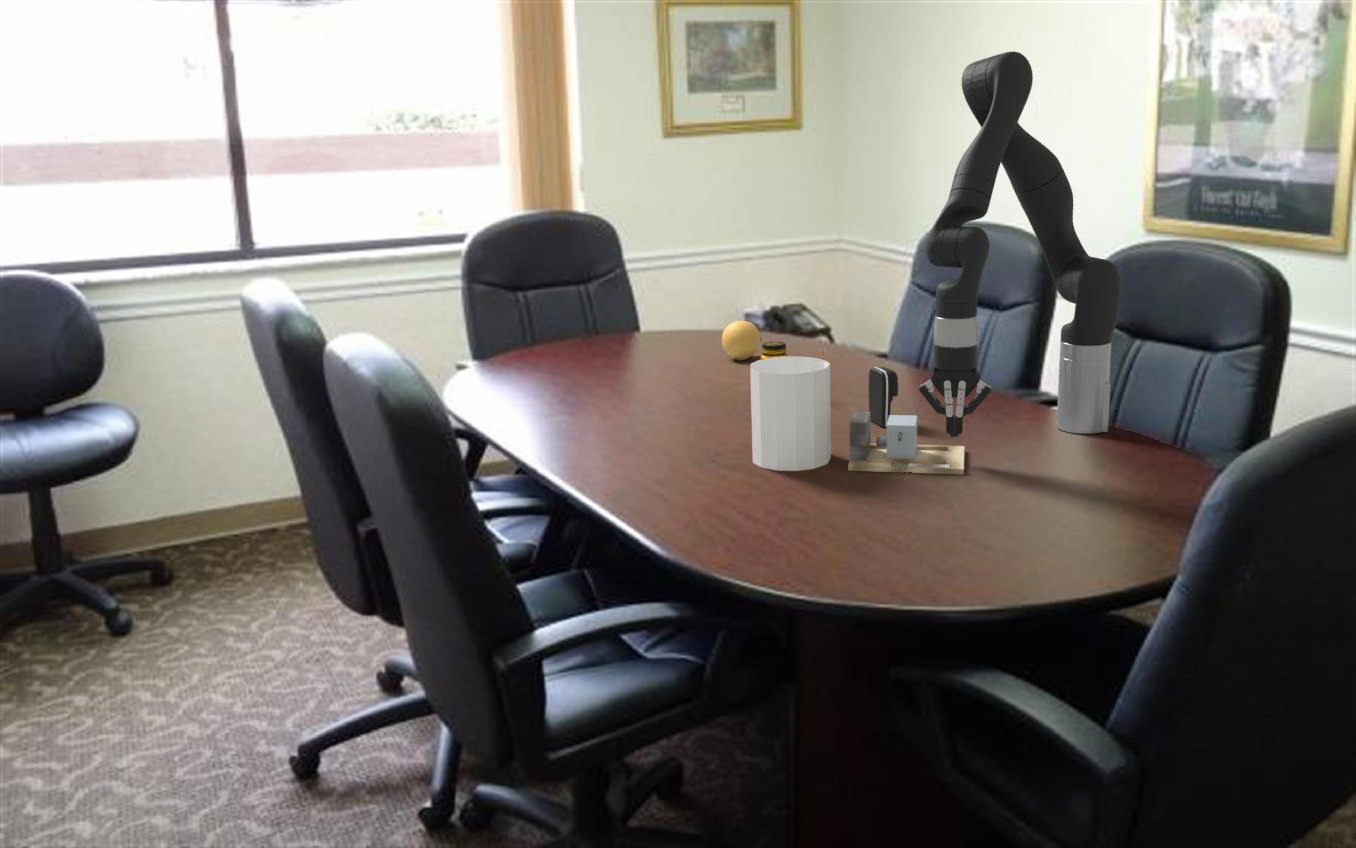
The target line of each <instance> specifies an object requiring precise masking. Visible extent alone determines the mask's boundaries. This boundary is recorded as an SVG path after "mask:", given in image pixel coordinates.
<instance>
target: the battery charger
mask: <svg viewBox="0 0 1356 848" xmlns="http://www.w3.org/2000/svg"><path fill="white" fill-rule="evenodd" d="M898 377H899V376H898V374H897V372H896V371H894V370H893V369H891V368H889V367H887V366H877V367H876V366H875V367H871V368H870V369H869V372H868V412H870V422H873V423H874V424H876V425H878V426H880V427H882V428H887V422H888V418H889V415H892V414H891V404H892V401H893V400H894V397H898V396H899V378H898Z"/></svg>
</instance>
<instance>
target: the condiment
mask: <svg viewBox="0 0 1356 848" xmlns="http://www.w3.org/2000/svg"><path fill="white" fill-rule="evenodd" d="M761 348H762V351H761V352H762V353H761V354H762V355H760V356H761V357H760V360H762V359H767V358H773V357H789V356H788V354H787V344H786V343H785V342H783V341H776V340H774V341H767V342H763V343H762V346H761Z"/></svg>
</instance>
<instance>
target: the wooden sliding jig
mask: <svg viewBox="0 0 1356 848" xmlns="http://www.w3.org/2000/svg"><path fill="white" fill-rule="evenodd" d="M849 421H850V422H849V462H848V465H847V467H848V468H847V471H852V472H873V473H874V472H881V473H882V472H883V473H904V472H906V474H907V473H908V472H912V474H913V473H914V474H932V475H933V474H940V475H941V474H943V475H965V474H964V473H965V472H964V471H965V445H941V444H939V445H934V444H917V451H916V457H915V459H895V458H886V453H887V447H881V446H876V443H871V420H870V412H869V411H857V410H855V411H853V412H852V416H851V419H850V420H849ZM908 474H909V473H908Z"/></svg>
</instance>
